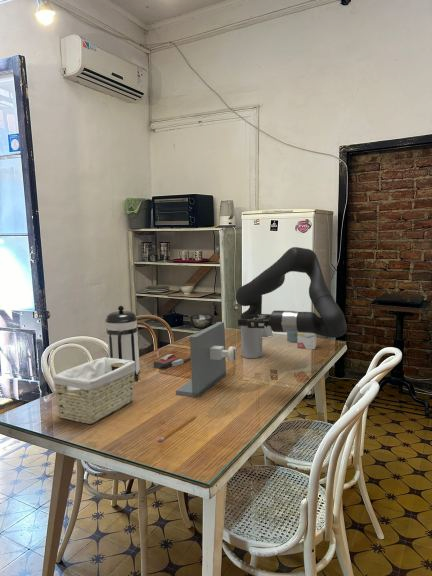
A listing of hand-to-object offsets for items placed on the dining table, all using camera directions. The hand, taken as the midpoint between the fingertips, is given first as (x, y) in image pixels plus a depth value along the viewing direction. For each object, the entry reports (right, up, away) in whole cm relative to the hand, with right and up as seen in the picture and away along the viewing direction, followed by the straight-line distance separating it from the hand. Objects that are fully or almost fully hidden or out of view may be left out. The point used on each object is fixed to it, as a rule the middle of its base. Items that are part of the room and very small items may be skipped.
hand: (242, 320), depth 155 cm
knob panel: (-13, -26, +10) cm, 30 cm away
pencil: (-21, -31, -27) cm, 46 cm away
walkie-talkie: (-29, -23, +39) cm, 54 cm away
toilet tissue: (+15, -16, +83) cm, 86 cm away
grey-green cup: (+32, -16, +72) cm, 81 cm away
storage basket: (-49, -30, -10) cm, 59 cm away
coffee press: (-47, -26, +21) cm, 57 cm away
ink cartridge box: (+35, -18, +57) cm, 70 cm away
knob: (-5, -16, +5) cm, 17 cm away
